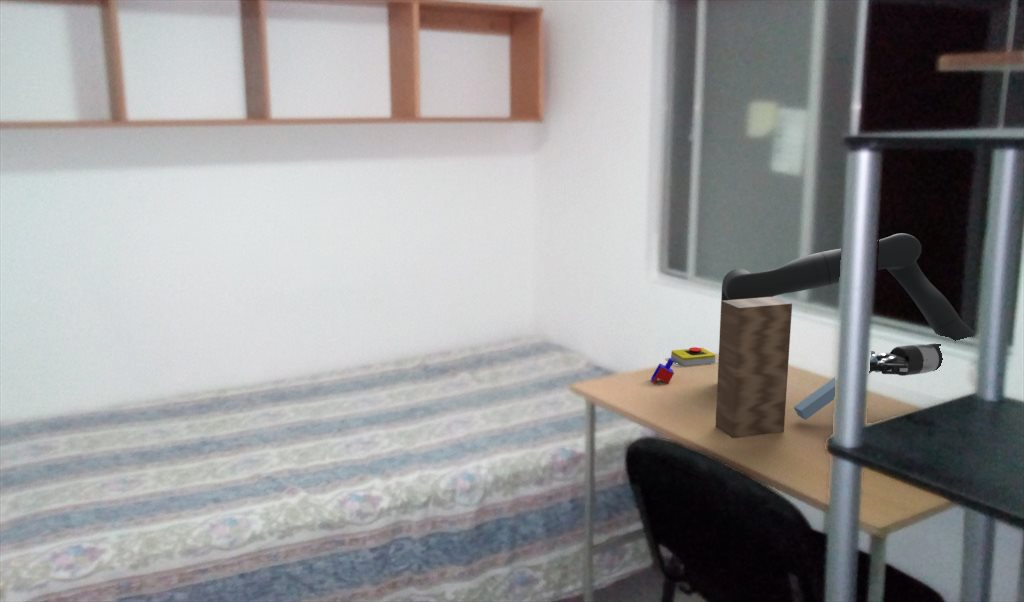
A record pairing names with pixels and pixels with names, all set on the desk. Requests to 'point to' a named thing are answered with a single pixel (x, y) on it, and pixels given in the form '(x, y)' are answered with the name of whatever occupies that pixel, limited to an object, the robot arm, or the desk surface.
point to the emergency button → (692, 357)
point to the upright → (753, 366)
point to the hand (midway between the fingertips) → (856, 366)
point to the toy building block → (663, 372)
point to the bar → (819, 398)
